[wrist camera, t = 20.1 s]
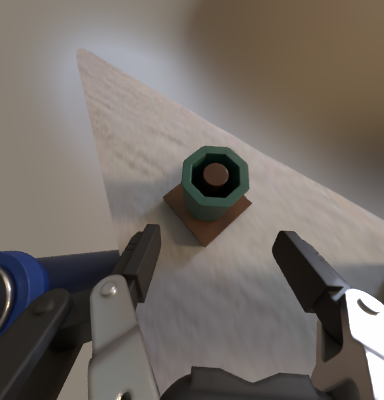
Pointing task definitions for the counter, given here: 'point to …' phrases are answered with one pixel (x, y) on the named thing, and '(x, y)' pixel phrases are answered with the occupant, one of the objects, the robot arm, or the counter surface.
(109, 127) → the counter surface
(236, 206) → the peg stand
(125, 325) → the robot arm
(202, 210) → the green octagonal tube
